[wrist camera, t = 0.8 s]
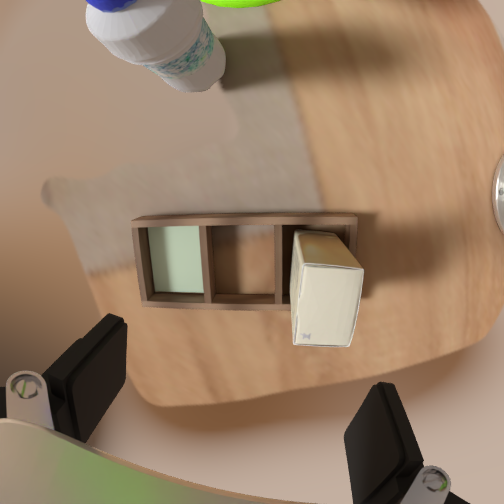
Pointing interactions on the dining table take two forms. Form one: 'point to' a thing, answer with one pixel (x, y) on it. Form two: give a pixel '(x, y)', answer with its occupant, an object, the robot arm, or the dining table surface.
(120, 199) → the dining table surface
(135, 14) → the bottle
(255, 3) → the wineglass
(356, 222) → the notch rack
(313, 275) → the skincare box
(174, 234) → the mat
